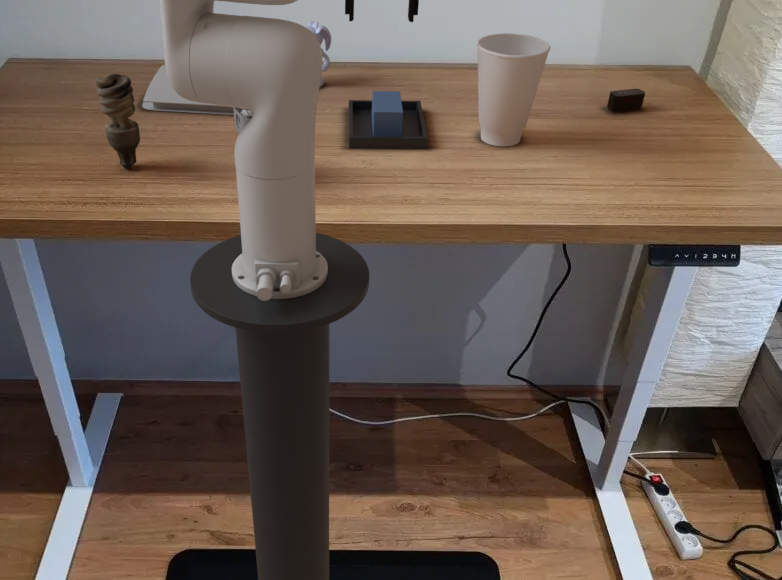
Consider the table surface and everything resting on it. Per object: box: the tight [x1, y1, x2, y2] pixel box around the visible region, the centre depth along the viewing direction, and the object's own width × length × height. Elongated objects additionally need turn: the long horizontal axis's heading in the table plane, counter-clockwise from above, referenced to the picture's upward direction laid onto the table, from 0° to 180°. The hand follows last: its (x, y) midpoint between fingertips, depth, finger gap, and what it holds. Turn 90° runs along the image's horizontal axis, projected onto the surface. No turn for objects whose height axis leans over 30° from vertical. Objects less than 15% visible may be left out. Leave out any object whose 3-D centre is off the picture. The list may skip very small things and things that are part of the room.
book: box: [141, 64, 253, 116], centre depth 154 cm, size 15×23×4 cm, turn 83°
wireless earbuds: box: [606, 88, 646, 114], centre depth 152 cm, size 5×7×3 cm, turn 107°
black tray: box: [348, 99, 429, 150], centre depth 144 cm, size 17×13×2 cm
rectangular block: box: [371, 90, 403, 136], centre depth 143 cm, size 10×5×4 cm, turn 0°
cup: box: [476, 33, 551, 147], centre depth 136 cm, size 12×12×16 cm
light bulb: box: [94, 73, 141, 170], centre depth 127 cm, size 6×6×15 cm
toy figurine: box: [305, 20, 332, 88], centre depth 158 cm, size 7×6×12 cm
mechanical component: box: [233, 107, 253, 135], centre depth 126 cm, size 3×10×10 cm, turn 24°
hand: (380, 19), depth 130 cm, fingers open, 9 cm apart
